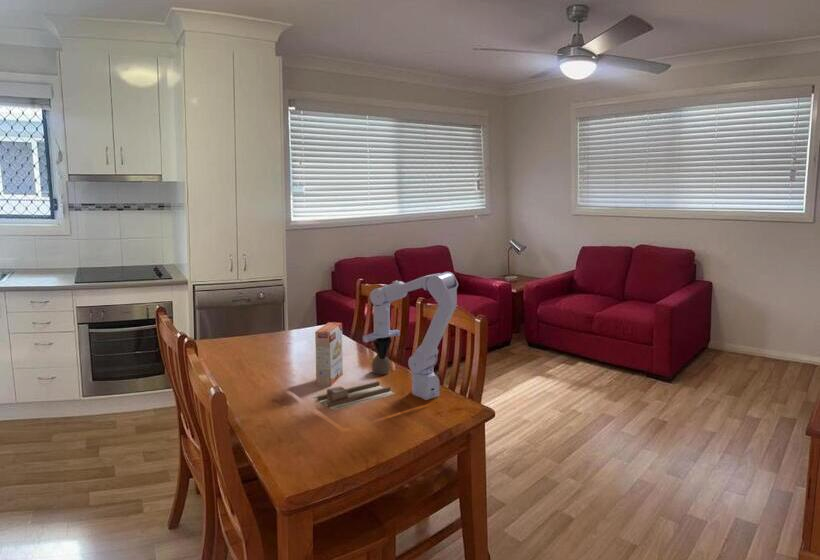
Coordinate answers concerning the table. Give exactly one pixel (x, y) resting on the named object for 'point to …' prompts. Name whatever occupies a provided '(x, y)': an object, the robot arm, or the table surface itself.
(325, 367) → the cracker box
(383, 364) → the vase
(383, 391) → the birch board
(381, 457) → the table surface
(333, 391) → the block
